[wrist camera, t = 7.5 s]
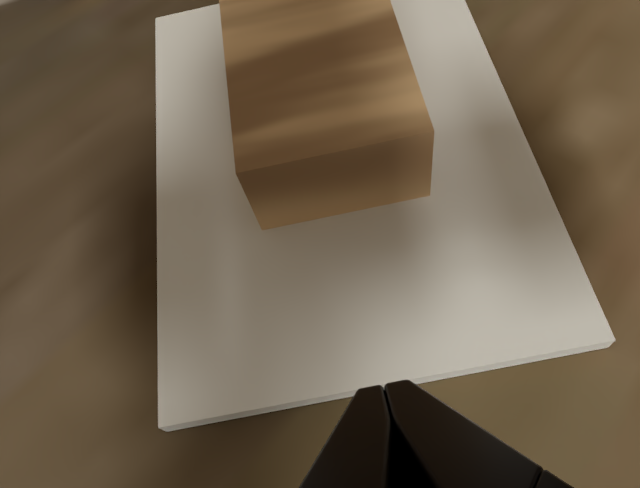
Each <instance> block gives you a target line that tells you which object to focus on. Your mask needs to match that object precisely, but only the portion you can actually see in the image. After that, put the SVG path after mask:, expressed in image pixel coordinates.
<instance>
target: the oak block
mask: <svg viewBox="0 0 640 488" xmlns="http://www.w3.org/2000/svg"><path fill="white" fill-rule="evenodd" d="M219 6H220V16H221V27H222V37H223V47H224V58H225V68H226V79H227V89H228V99H229V110H230V120H231V131H232V141H233V151H234V162H235V172H236V175H237V177H238V180H239V182H240V184H241V186H242V188H243V190H244V192H245V195H246V197H247V199H248V201H249V203H250V205H251V208H252V210H253V212H254V214H255V216H256V218H257V220H258V223H259V225H260V227H261V229H262V230H266V229H271V228H276V227H281V226H286V225H290V224H295V223H300V222H305V221H310V220H315V219H319V218H324V217H329V216H334V215H339V214H344V213H348V212H353V211H358V210H363V209H368V208H373V207H377V206H382V205H387V204H392V203H397V202H402V201H406V200H411V199H416V198H421V197H426V196H430V190H431V175H432V160H433V145H434V128H433V125H432V122H431V119H430V116H429V113H428V111H427V108H426V105H425V102H424V99H423V96H422V93H421V90H420V87H419V84H418V81H417V78H416V75H415V72H414V69H413V66H412V63H411V60H410V57H409V54H408V51H407V48H406V45H405V42H404V40H403V37H402V34H401V31H400V28H399V25H398V22H397V19H396V16H395V13H394V10H393V7H392V4H391V1H390V0H219Z"/></svg>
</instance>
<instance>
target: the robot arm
mask: <svg viewBox="0 0 640 488" xmlns="http://www.w3.org/2000/svg"><path fill="white" fill-rule="evenodd" d="M384 391H385V392H384ZM299 488H574V487H572V486H570V485H569V484H567V483H566V482H564V481H563V480H561V479H560V478H558V477H557V476H555V475H553V474H552V473H550V472H549V471H547V470H543V468H542V467H541V466H539V465H538V464H536V463H535V462H533V461H532V460H530V459H529V458H527V457H526V456H524V455H523V454H521V453H520V452H518V451H517V450H515V449H514V448H512V447H510V446H509V445H507V444H506V443H504V442H503V441H501V440H500V439H498V438H497V437H495V436H494V435H492V434H491V433H489V432H488V431H486V430H485V429H483V428H482V427H480V426H479V425H477V424H476V423H474V422H472V421H471V420H469V419H468V418H466V417H465V416H463V415H462V414H460V413H459V412H457V411H456V410H454V409H453V408H451V407H450V406H448V405H447V404H445V403H444V402H442V401H441V400H439V399H437V398H436V397H434V396H433V395H431V394H430V393H428V392H427V391H425V390H424V389H422V388H421V387H419V386H418V385H416V384H415V383H413V382H412V381H410V380H400V381H395V382H390V383H387V384H385V386H384V388H383V387H382V386H381V385H374V386H369V387H364V388H360V389H358V390H357V391H356V393H355V395H354V396H353V398H352V400H351V401H350V403H349V405H348V406H347V408H346V410H345V411H344V413H343V415H342V416H341V418H340V420H339V421H338V423H337V425H336V426H335V428H334V430H333V431H332V433H331V435H330V436H329V438H328V440H327V441H326V443H325V445H324V446H323V448H322V450H321V451H320V453H319V455H318V456H317V458H316V460H315V461H314V463H313V465H312V467H311V468H310V470H309V472H308V473H307V475H306V477H305V478H304V480H303V482H302V483H301V485H300V487H299Z"/></svg>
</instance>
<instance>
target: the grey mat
mask: <svg viewBox="0 0 640 488" xmlns="http://www.w3.org/2000/svg"><path fill="white" fill-rule="evenodd" d="M390 1H391V4H392V7H393V10H394V13H395V16H396V19H397V22H398V25H399V28H400V31H401V34H402V37H403V40H404V42H405V45H406V48H407V51H408V54H409V57H410V60H411V63H412V66H413V69H414V72H415V75H416V78H417V81H418V84H419V87H420V90H421V93H422V96H423V99H424V102H425V105H426V108H427V111H428V113H429V116H430V119H431V122H432V125H433V128H434V145H433V160H432V175H431V190H430V196H426V197H421V198H416V199H411V200H406V201H402V202H397V203H392V204H387V205H382V206H377V207H373V208H368V209H363V210H358V211H353V212H348V213H344V214H339V215H334V216H329V217H324V218H319V219H315V220H310V221H305V222H300V223H295V224H290V225H286V226H281V227H276V228H271V229H266V230H262V229H261V227H260V225H259V223H258V220H257V218H256V216H255V214H254V212H253V210H252V208H251V205H250V203H249V201H248V199H247V197H246V195H245V192H244V190H243V188H242V186H241V184H240V182H239V180H238V177H237V175H236V172H235V162H234V151H233V141H232V131H231V120H230V110H229V99H228V89H227V79H226V68H225V58H224V47H223V37H222V27H221V16H220V6H219V4H216V5H211V6H207V7H203V8H198V9H194V10H189V11H185V12H181V13H176V14H172V15H167V16H163V17H159V18H156V178H157V338H158V428H159V429H162V430H164V431H166V432H169V431H174V430H179V429H184V428H190V427H195V426H200V425H205V424H210V423H216V422H221V421H226V420H231V419H237V418H242V417H247V416H252V415H258V414H263V413H268V412H273V411H278V410H284V409H289V408H294V407H299V406H305V405H310V404H315V403H320V402H326V401H331V400H336V399H341V398H346V397H352V396H354V395H355V393H356V391H357V390H358V389H360V388H364V387H369V386H374V385H381V386H382V387H383V388H384V386H385V384H387V383H390V382H395V381H400V380H410V381H412V382H413V383H415V384H420V383H425V382H430V381H435V380H441V379H446V378H451V377H456V376H462V375H467V374H472V373H477V372H483V371H488V370H493V369H498V368H503V367H509V366H514V365H519V364H524V363H530V362H535V361H540V360H545V359H551V358H556V357H561V356H566V355H571V354H577V353H582V352H587V351H592V350H598V349H603V348H608V347H609V346H610V345H611V344H612V343H613V342H614V341H615V338H614V336H613V333H612V331H611V329H610V327H609V324H608V322H607V320H606V318H605V315H604V313H603V311H602V309H601V306H600V304H599V302H598V300H597V297H596V295H595V293H594V291H593V288H592V286H591V284H590V282H589V279H588V277H587V275H586V273H585V270H584V268H583V266H582V264H581V261H580V259H579V257H578V254H577V252H576V250H575V248H574V245H573V243H572V241H571V239H570V236H569V234H568V232H567V230H566V227H565V225H564V223H563V221H562V218H561V216H560V214H559V212H558V209H557V207H556V205H555V203H554V200H553V198H552V196H551V194H550V191H549V189H548V187H547V185H546V182H545V180H544V178H543V176H542V173H541V171H540V169H539V167H538V164H537V162H536V160H535V158H534V155H533V153H532V151H531V149H530V146H529V144H528V142H527V140H526V137H525V135H524V133H523V130H522V128H521V126H520V124H519V121H518V119H517V117H516V115H515V112H514V110H513V108H512V106H511V103H510V101H509V99H508V97H507V94H506V92H505V90H504V88H503V85H502V83H501V81H500V79H499V76H498V74H497V72H496V70H495V67H494V65H493V63H492V61H491V58H490V56H489V54H488V52H487V49H486V47H485V45H484V43H483V40H482V38H481V36H480V34H479V31H478V29H477V27H476V25H475V22H474V20H473V18H472V16H471V13H470V11H469V9H468V6H467V4H466V2H465V0H390Z"/></svg>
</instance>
